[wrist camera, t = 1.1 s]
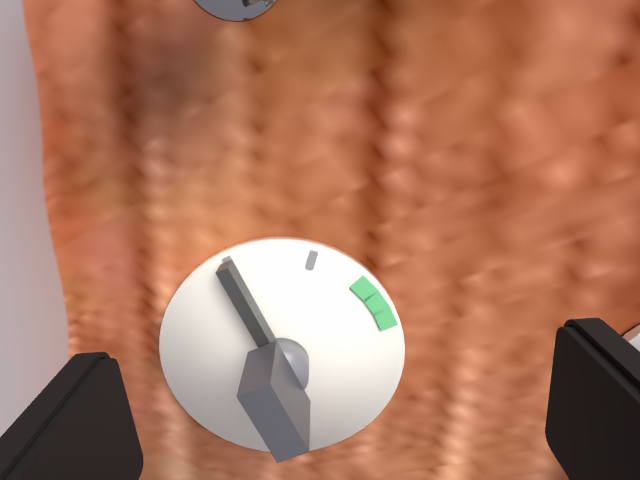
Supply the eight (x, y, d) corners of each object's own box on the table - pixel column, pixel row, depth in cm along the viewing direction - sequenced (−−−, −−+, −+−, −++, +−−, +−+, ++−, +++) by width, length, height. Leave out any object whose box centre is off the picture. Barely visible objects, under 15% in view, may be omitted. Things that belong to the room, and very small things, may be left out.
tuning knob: (322, 380, 36) (322, 446, 30) (273, 398, 37) (264, 467, 30) (252, 250, 33) (236, 293, 26) (199, 273, 33) (170, 320, 27)
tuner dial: (444, 373, 39) (449, 386, 37) (259, 472, 42) (257, 488, 41) (314, 186, 33) (314, 191, 31) (115, 319, 37) (105, 331, 35)
